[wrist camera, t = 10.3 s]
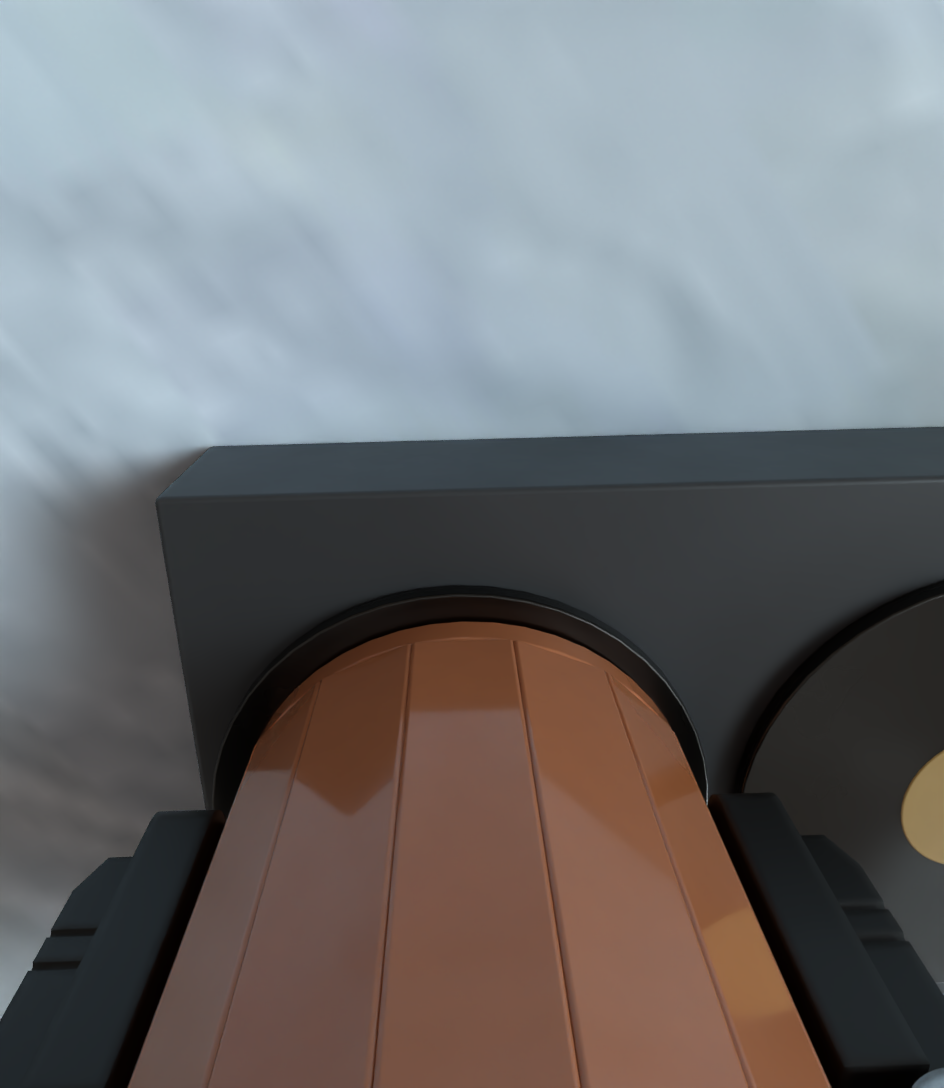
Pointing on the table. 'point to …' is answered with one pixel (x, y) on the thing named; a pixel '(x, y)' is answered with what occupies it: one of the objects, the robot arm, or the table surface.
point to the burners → (773, 748)
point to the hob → (560, 550)
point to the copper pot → (473, 891)
